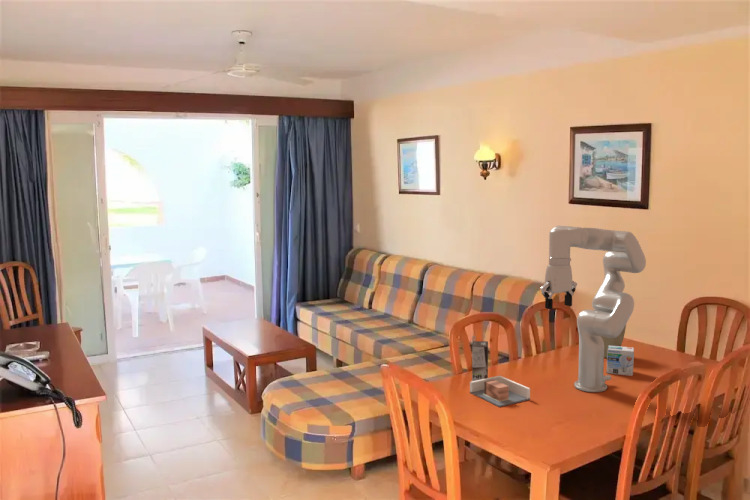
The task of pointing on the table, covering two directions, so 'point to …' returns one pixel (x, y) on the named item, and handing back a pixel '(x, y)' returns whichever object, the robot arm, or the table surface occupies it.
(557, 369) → the table surface
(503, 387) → the block
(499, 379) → the corner arena
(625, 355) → the light bulb box
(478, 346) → the coffee box
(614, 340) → the plant pot
